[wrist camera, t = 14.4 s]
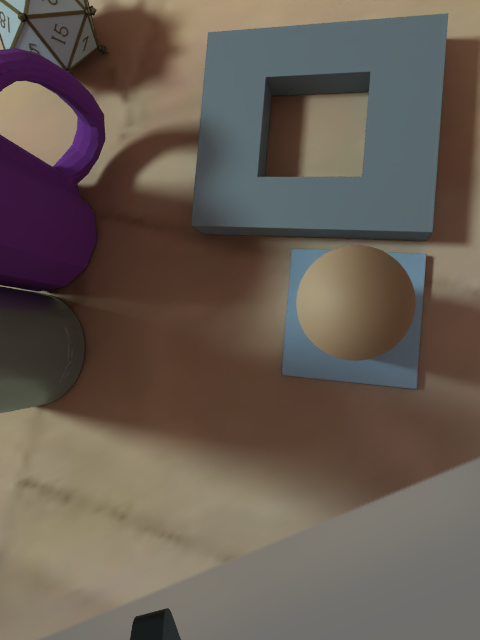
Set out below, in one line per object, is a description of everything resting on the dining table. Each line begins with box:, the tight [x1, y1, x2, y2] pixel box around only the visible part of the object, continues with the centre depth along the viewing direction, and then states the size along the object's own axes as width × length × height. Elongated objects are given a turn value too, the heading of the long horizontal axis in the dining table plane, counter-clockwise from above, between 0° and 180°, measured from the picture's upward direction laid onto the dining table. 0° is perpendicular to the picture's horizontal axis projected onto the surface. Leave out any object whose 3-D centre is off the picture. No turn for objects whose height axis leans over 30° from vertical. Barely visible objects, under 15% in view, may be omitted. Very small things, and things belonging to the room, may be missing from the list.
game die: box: [0, 0, 109, 74], centre depth 34 cm, size 9×8×10 cm
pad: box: [282, 249, 426, 389], centre depth 32 cm, size 9×9×1 cm
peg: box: [296, 245, 416, 361], centre depth 26 cm, size 5×5×12 cm
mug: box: [0, 48, 105, 291], centre depth 30 cm, size 9×16×15 cm, turn 143°
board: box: [191, 14, 448, 241], centre depth 32 cm, size 16×14×2 cm
